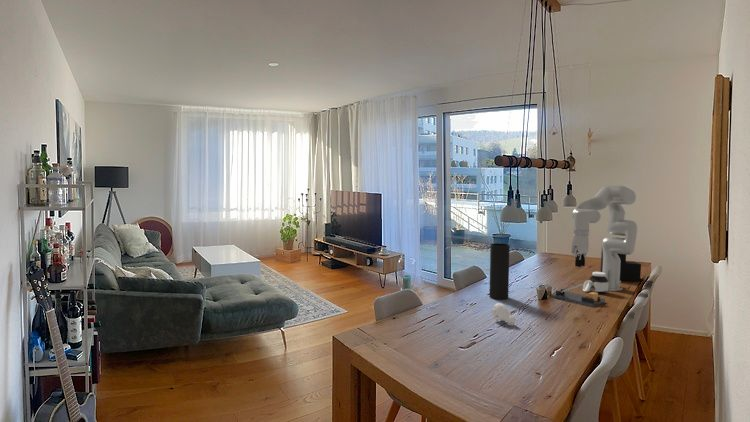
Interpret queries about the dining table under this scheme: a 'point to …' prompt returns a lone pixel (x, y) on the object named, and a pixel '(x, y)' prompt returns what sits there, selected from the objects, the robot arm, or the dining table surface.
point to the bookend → (627, 269)
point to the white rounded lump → (502, 314)
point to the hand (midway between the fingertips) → (579, 265)
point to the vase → (499, 271)
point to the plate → (577, 298)
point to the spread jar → (596, 283)
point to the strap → (571, 288)
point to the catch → (592, 295)
